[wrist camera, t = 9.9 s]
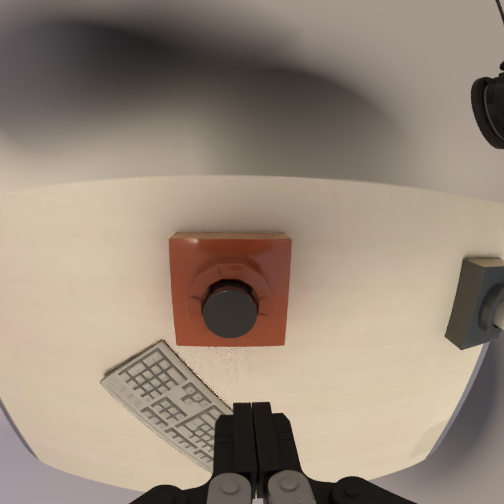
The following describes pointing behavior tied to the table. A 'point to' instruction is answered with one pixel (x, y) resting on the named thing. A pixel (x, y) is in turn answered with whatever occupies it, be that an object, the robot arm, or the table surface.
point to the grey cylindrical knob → (499, 316)
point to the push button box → (476, 303)
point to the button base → (230, 269)
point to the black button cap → (230, 310)
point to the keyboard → (169, 402)
